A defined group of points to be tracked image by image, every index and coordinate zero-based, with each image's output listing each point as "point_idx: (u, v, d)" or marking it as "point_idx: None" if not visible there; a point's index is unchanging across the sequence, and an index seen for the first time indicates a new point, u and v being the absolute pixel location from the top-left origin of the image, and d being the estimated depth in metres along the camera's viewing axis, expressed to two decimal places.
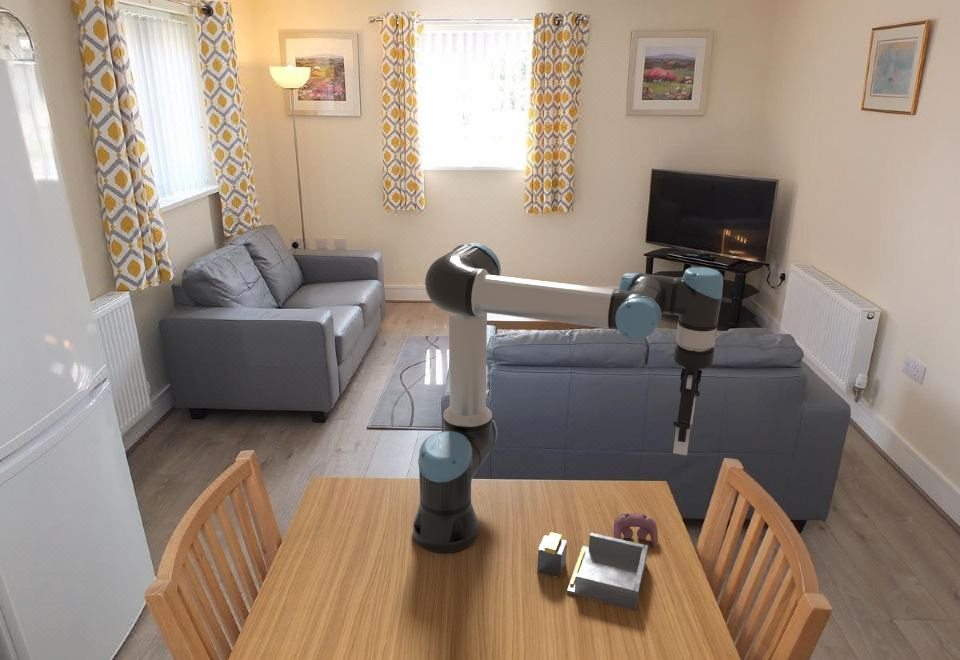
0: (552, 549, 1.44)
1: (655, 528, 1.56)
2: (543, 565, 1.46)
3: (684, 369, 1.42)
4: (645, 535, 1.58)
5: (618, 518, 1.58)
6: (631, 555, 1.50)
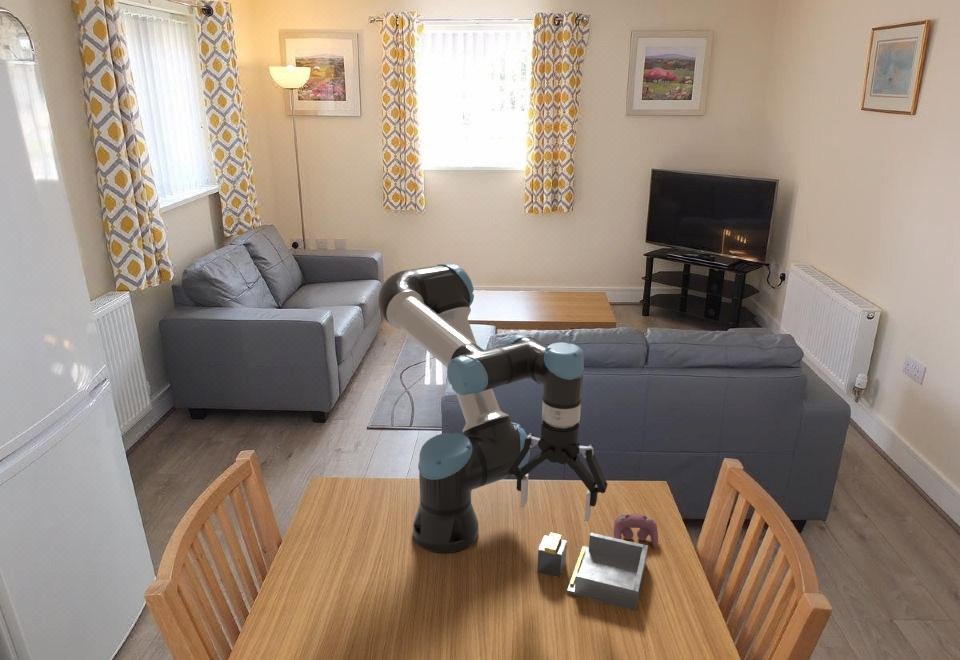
0: (552, 549, 1.44)
1: (655, 529, 1.56)
2: (543, 565, 1.46)
3: None
4: (645, 536, 1.57)
5: (618, 519, 1.58)
6: (631, 555, 1.50)
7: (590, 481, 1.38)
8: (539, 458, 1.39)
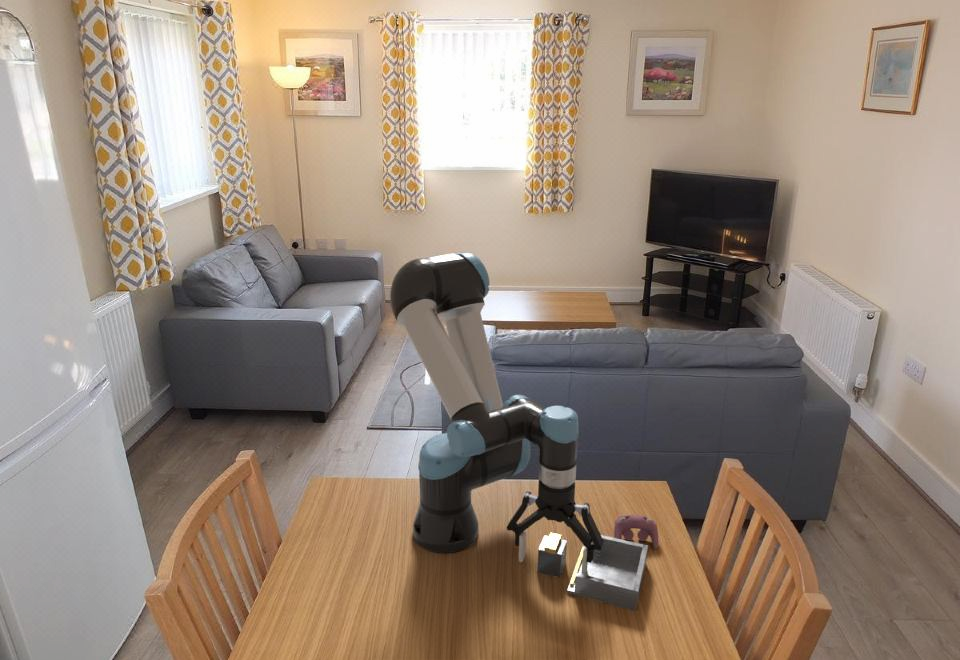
0: (552, 549, 1.44)
1: (656, 530, 1.56)
2: (543, 565, 1.46)
3: None
4: (646, 537, 1.57)
5: (618, 520, 1.57)
6: (631, 555, 1.50)
7: (586, 538, 1.42)
8: (536, 516, 1.44)
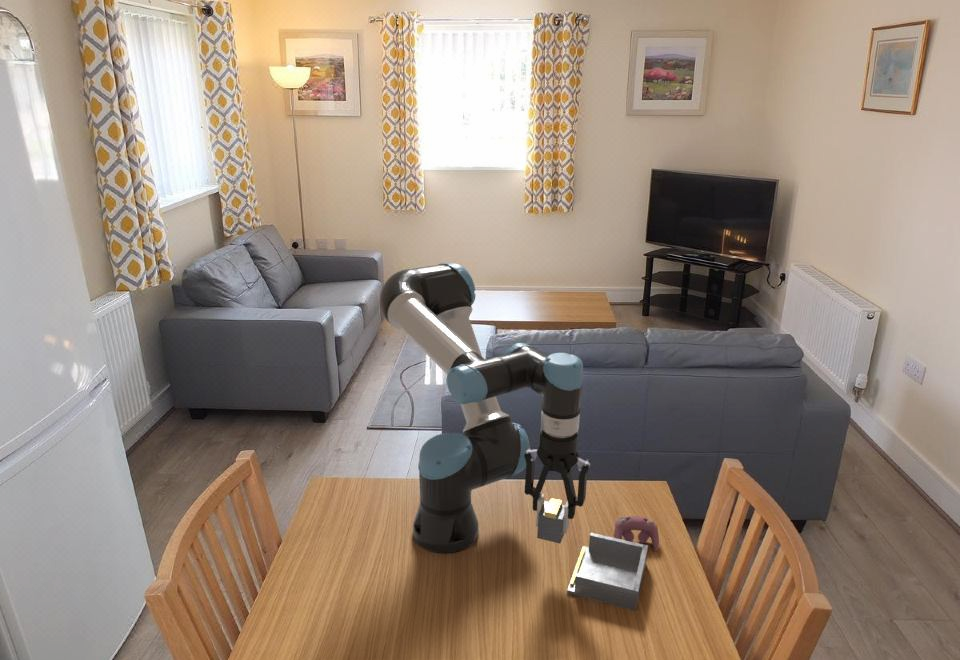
0: (553, 514, 1.41)
1: (656, 531, 1.55)
2: (543, 531, 1.43)
3: None
4: (646, 538, 1.57)
5: (619, 521, 1.57)
6: (631, 555, 1.50)
7: (572, 495, 1.40)
8: (543, 471, 1.40)
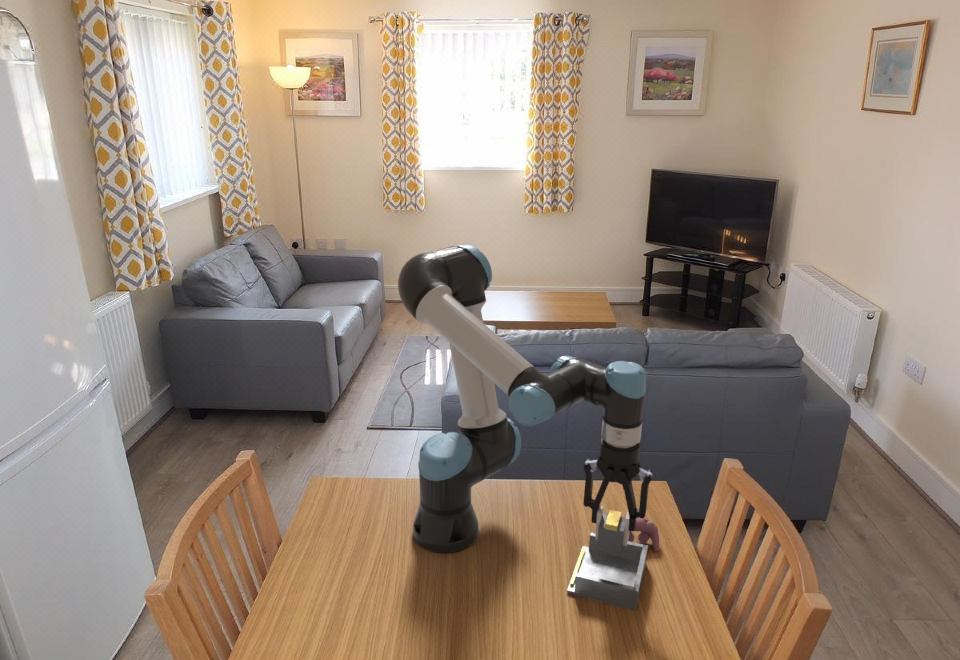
0: (614, 526, 1.38)
1: (656, 532, 1.55)
2: (604, 543, 1.40)
3: None
4: (646, 539, 1.56)
5: None
6: (631, 555, 1.50)
7: (634, 506, 1.37)
8: (603, 482, 1.37)
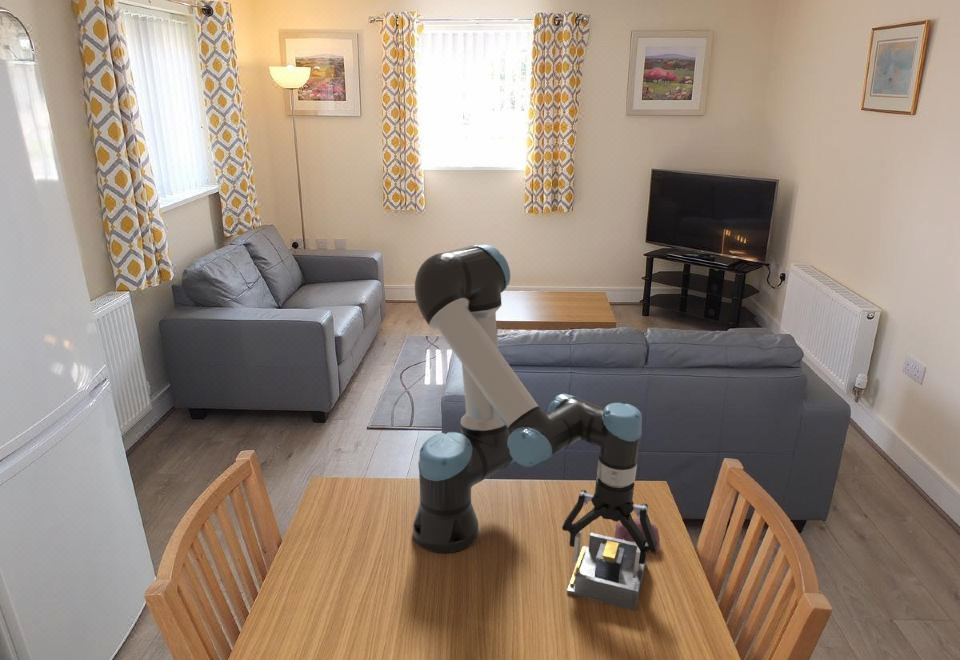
0: (611, 558, 1.40)
1: (657, 534, 1.54)
2: (601, 574, 1.43)
3: None
4: None
5: (619, 524, 1.56)
6: (631, 555, 1.50)
7: (641, 540, 1.39)
8: (593, 515, 1.40)
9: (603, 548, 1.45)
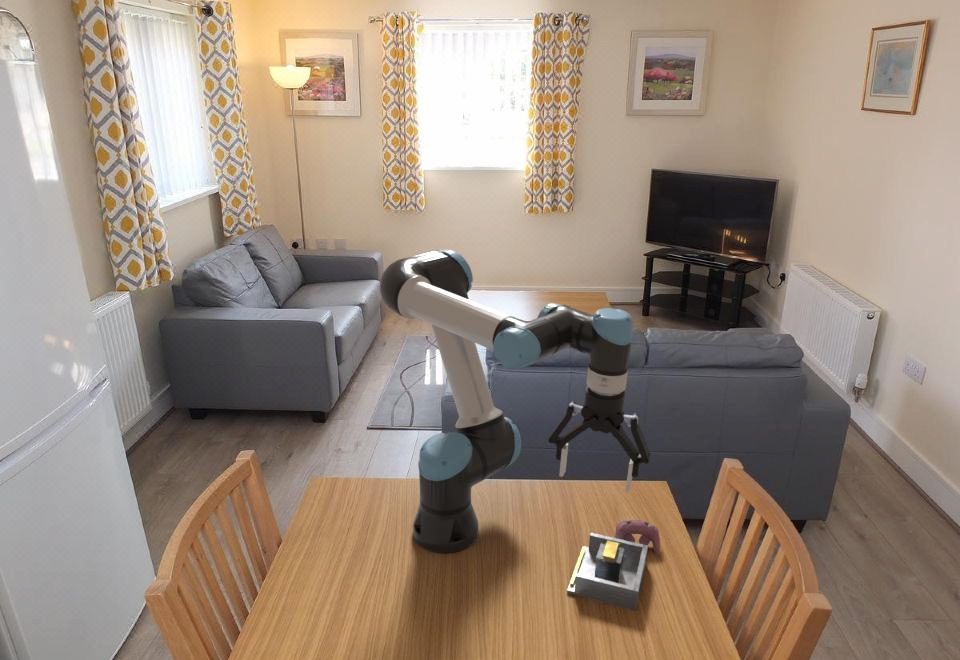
0: (611, 558, 1.40)
1: (657, 535, 1.54)
2: (601, 574, 1.43)
3: None
4: (647, 542, 1.55)
5: (620, 525, 1.56)
6: (631, 555, 1.50)
7: (633, 451, 1.35)
8: (582, 426, 1.36)
9: (603, 548, 1.45)
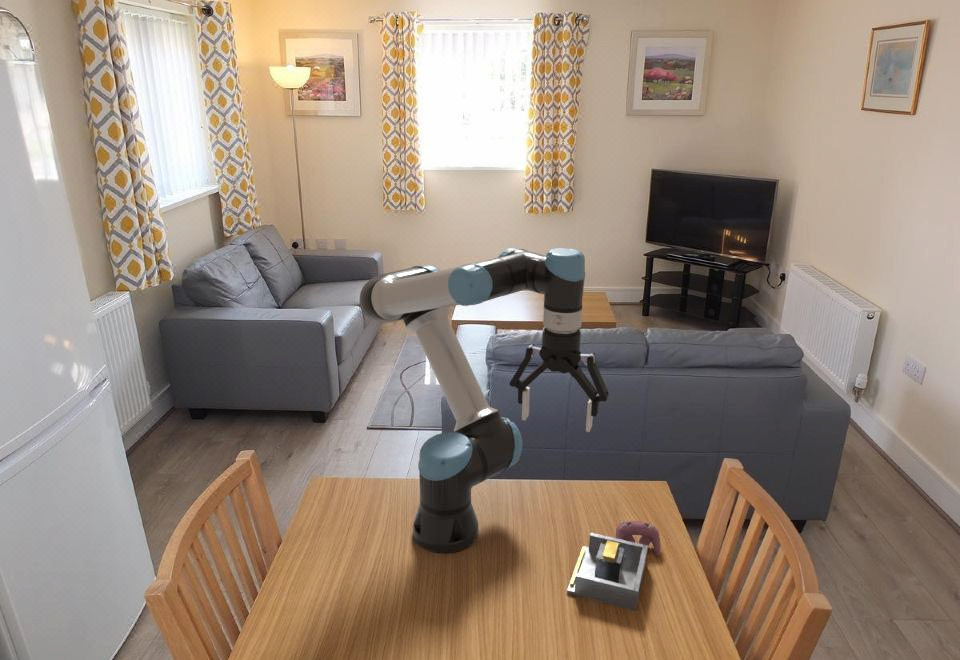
0: (611, 558, 1.40)
1: (658, 536, 1.54)
2: (601, 574, 1.43)
3: None
4: (647, 543, 1.55)
5: (620, 526, 1.55)
6: (631, 555, 1.50)
7: (591, 390, 1.38)
8: (540, 367, 1.39)
9: (603, 548, 1.45)
